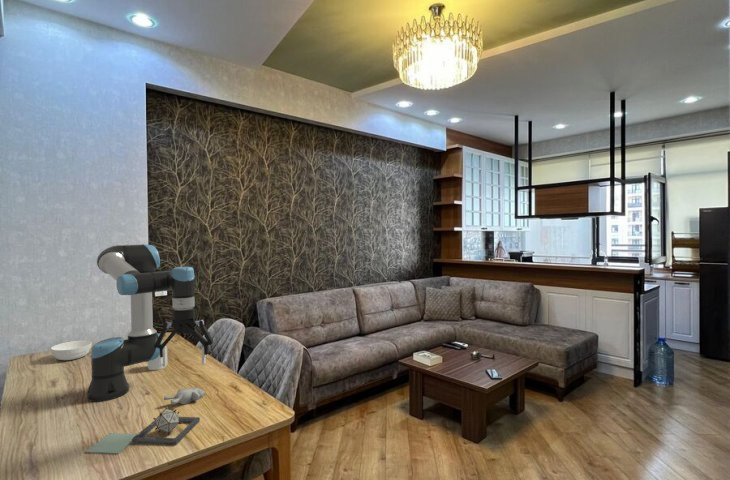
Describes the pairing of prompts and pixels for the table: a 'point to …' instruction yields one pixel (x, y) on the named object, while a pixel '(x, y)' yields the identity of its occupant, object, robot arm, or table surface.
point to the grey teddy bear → (186, 396)
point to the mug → (156, 364)
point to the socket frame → (172, 441)
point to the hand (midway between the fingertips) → (184, 364)
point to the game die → (167, 420)
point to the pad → (112, 443)
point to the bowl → (71, 350)
